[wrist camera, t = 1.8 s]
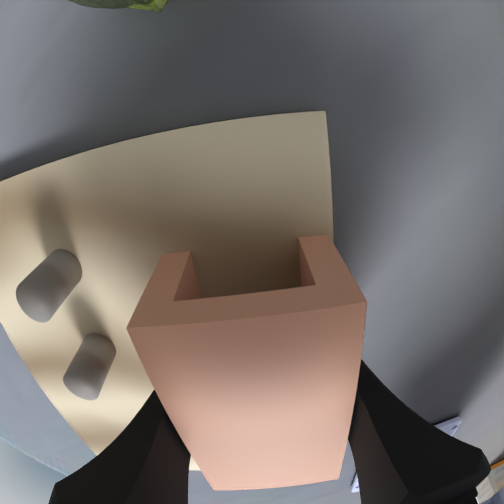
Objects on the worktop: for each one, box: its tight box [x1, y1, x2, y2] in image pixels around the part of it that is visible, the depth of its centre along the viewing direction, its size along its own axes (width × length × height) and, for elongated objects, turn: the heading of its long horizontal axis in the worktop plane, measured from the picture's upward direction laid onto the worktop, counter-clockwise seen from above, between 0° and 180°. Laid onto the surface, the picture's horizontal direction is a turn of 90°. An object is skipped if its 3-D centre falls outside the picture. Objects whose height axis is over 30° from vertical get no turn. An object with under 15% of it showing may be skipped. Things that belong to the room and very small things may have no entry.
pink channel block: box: [126, 234, 367, 490], centre depth 11 cm, size 10×6×4 cm, turn 7°
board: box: [0, 111, 334, 470], centre depth 12 cm, size 20×16×3 cm
